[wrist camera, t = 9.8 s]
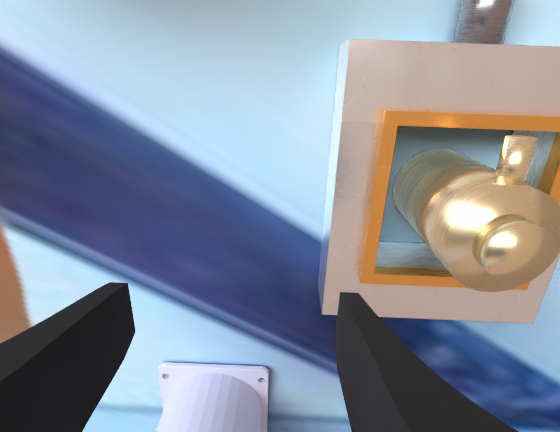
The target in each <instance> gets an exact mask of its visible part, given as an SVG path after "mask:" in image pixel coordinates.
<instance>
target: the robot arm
mask: <svg viewBox="0 0 560 432" xmlns="http://www.w3.org/2000/svg"><path fill="white" fill-rule="evenodd" d="M134 334H135V326H134V320H133V313H132V307H131V301H130V295H129V289H128V283H111V282H110V283H108V284H106V285H104V286H102V287H100V288H98V289H97V290H95V291H93V292H91V293H90V294H88V295H86V296H85V297H83V298H81V299H80V300H78V301H76V302H75V303H73V304H71V305H70V306H68V307H66V308H64V309H63V310H61V311H59V312H58V313H56V314H54V315H53V316H51V317H49V318H47V319H45V320H44V321H42V322H40V323H38V324H36V325H35V326H33V327H31V328H29V329H27V330H26V331H24V332H22V333H20V334H18V335H16V336H15V337H12V338H11V339H9V340H7V341H5V342H3V343H1V344H0V432H82V431H83V429H84V427H85V425H86V423H87V422H88V420H89V418H90V417H91V415H92V413H93V411H94V410H95V408H96V406H97V405H98V403H99V401H100V400H101V398H102V396H103V394H104V393H105V391H106V389H107V388H108V386H109V384H110V383H111V381H112V379H113V377H114V376H115V374H116V372H117V370H118V369H119V367H120V365H121V363H122V361H123V360H124V358H125V355H126V353H127V351H128V348H129V346H130V344H131V341H132V339H133V336H134ZM334 342H335V352H336V361H337V369H338V374H339V378H340V383H341V387H342V391H343V396H344V400H345V404H346V409H347V413H348V417H349V422H350V426H351V430H352V432H518V431H517V430H515V429H513V428H512V427H510V426H509V425H507V424H505V423H504V422H502V421H501V420H499V419H497V418H496V417H494V416H493V415H491V414H490V413H488V412H487V411H485V410H484V409H482V408H481V407H479V406H478V405H477V404H475V403H474V402H472V401H471V400H470V399H468V398H467V397H466V396H464V395H463V394H461V393H460V392H459V391H457V390H456V389H455V388H453V387H452V386H451V385H449V384H448V383H447V382H446V381H444V380H443V379H442V378H441V377H440V376H438V375H437V374H436V373H435V372H434V371H432V370H431V369H430V368H429V367H428V366H426V365H425V364H424V363H423V362H422V361H421V360H420V359H419V358H417V357H416V356H415V355H414V354H413V353H412V352H411V351H410V350H409V349H408V348H407V347H406V346H405V345H404V344H403V343H402V342H401V341H400V340H399V339H398V338H397V337H396V336H395V335H394V334H393V332H392V331H391V330H390V329H389V328H388V327H387V326H386V325H385V324H384V323H383V321H382V320H381V319H380V318H379V317H378V316H377V314H376V313H375V312H374V311H373V310H372V309H371V307H370V306H369V305H368V304H367V303H366V301H365V300H364V299H363V298H362V297H361V295H360V294H359V293H351V292H340V297H339V305H338V313H337V321H336V330H335V338H334ZM158 373H159V381H160V388H161V395H162V403H163V412H162V415H161V418H160V421H159V423H158V426H157V429H156V431H155V432H267V416H268V383H269V370H268V369H267V368H266V367H263V366H243V365H219V364H196V363H173V362H163V363H161V364H160V366H159V368H158ZM167 374H168V375H167ZM261 378H264V379H261Z"/></svg>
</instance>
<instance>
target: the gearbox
mask: <svg viewBox="0 0 560 432" xmlns="http://www.w3.org/2000/svg"><path fill="white" fill-rule="evenodd" d="M513 3H514V0H462V3H461V8H460V13H459V17H458V22H457V27H456V32H455V37H454V42H453V43H445V42H418V41H392V40H365V39H349V40H347V41H345V42H344V43H342V44H340V45H339V56H338V67H337V78H336V89H335V100H334V111H333V122H332V132H331V143H330V154H329V165H328V176H327V187H326V198H325V209H324V220H323V231H322V242H321V253H320V264H319V275H318V291H319V298H320V305H321V312H322V314H323V315H337V313H338V305H339V297H340V292H351V293H359V294H360V295H361V297H362V298H363V299H364V300H365V301H366V303H367V304H368V305H369V306H370V307H371V309H372V310H373V311H374V312H375V313H376V314H377V316H378V317H395V318H419V319H442V320H466V321H490V322H514V323H533V322H534V319H535V317H536V314H537V312H538V309H539V307H540V304H541V302H542V299H543V297H544V294H545V292H546V289H547V287H548V284H549V282H550V279H551V277H552V274H553V272H554V269H555V267H556V264H557V262H558V259H559V257H560V252H559V254H558V256H557V257H556V259H555V260H554V261H553V263H552V264H551V265H550V266H549V267H548V268H547V269H546V270H545V271H544V272H543V273H542V274H540V275H539V276H538V277H536V278H535V279H533V280H531V281H530V282H528V283H526V284H524V285H522V286H519V287H516V288H513V289H510V290H506V291H499V292H483V291H477V290H474V289H471V288H468V287H466V286H464V285H463V284H461V283H460V282H458V281H457V280H456V279H455V278H454V277H453V276H452V274H451V273H450V272H449V271H448V270H447V268H446V267H445V266H444V265H443V264H442V262H441V261H440V260H439V259H438V258H437V256H436V255H435V254H434V253H433V251H432V250H431V249H430V248H429V247H428V245H427V244H426V243H404V242H379V238H380V232H381V226H382V220H383V214H384V208H385V201H386V195H387V189H388V183H389V177H390V171H391V165H392V159H393V153H394V146H395V140H396V134H397V128H398V126H422V127H447V128H473V129H499V130H513V134H512V135H522V136H531V137H536V138H538V141H537V145H536V148H535V151H534V155H533V158H532V161H531V165H530V168H529V172H528V175H527V178H526V182H525V184H527V185H529V186H531V187H534V188H536V189H538V190H540V191H542V192H544V193H546V194H548V195H550V196H551V197H552V198H553V199H555V200H556V201H557V203H558V204H559V205H560V47H552V46H525V45H503V42H504V38H505V34H506V30H507V26H508V23H509V19H510V15H511V11H512V7H513Z"/></svg>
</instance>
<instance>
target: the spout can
mask: <svg viewBox="0 0 560 432" xmlns="http://www.w3.org/2000/svg"><path fill="white" fill-rule="evenodd" d="M537 141H538V138H536V137H531V136H522V135H506V136H505V138H504V142H503V146H502V150H501V153H500V157H499V161H498V165H497V169H496V170H494V169H492V168H490V167H487V166H485V165H483V164H481V163H479V162H476V161H474V160H472V159H470V158H468V157H465V156H463V155H461V154H459V153H457V152H454V151H452V150H448V149H441V148H439V149H430V150H426V151H423V152H421V153H419V154H417V155H415V156H413V157H412V158H411V159H409V160H408V161H407V162H406V163H405V164H404V165H403V166H402V168H401V169H400V170H399V172H398V174H397V176H396V178H395V181H394V185H393V199H394V202H395V205H396V207H397V209H398V210H399V211H400V213H401V214H402V215H403V216H404V218H405V219H406V220H407V221H408V222H409V224H410V225H411V226H412V227H413V228H414V230H415V231H416V232H417V233H418V235H419V236H420V237H421V238H422V239H423V241H424V242H425V243H426V244H427V245H428V247H429V248H430V249H431V250H432V251H433V253H434V254H435V255H436V256H437V258H438V259H439V260H440V261H441V262H442V264H443V265H444V266H445V267H446V268H447V270H448V271H449V272H450V273H451V274H452V276H453V277H454V278H455V279H456V280H457V281H458V282H460V283H461V284H463V285H464V286H466V287H468V288H471V289H474V290H477V291H483V292H499V291H506V290H510V289H513V288H516V287H519V286H522V285H524V284H526V283H528V282H530V281H531V280H533V279H535V278H536V277H538V276H539V275H540V274H542V273H543V272H544V271H545V270H546V269H547V268H548V267H549V266H550V265H551V264H552V263H553V261H554V260H555V259H556V257H557V256H558V254H559V252H560V205H559V204H558V203H557V201H556V200H555V199H553V198H552V197H551V196H550V195H548V194H546V193H544V192H542V191H540V190H538V189H536V188H534V187H531V186H529V185H527V184H525V182H526V178H527V175H528V172H529V168H530V165H531V161H532V158H533V155H534V151H535V148H536V145H537Z"/></svg>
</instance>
